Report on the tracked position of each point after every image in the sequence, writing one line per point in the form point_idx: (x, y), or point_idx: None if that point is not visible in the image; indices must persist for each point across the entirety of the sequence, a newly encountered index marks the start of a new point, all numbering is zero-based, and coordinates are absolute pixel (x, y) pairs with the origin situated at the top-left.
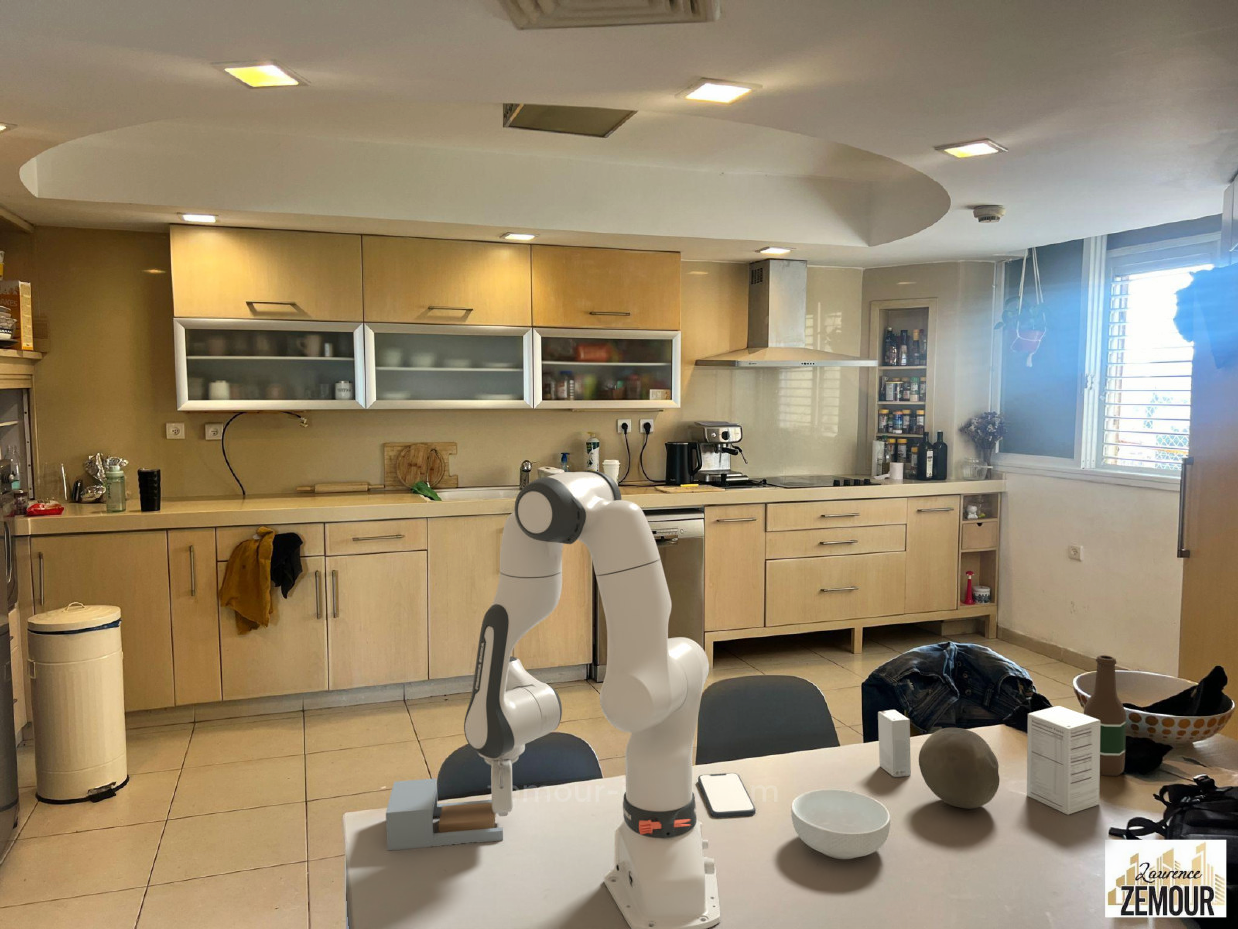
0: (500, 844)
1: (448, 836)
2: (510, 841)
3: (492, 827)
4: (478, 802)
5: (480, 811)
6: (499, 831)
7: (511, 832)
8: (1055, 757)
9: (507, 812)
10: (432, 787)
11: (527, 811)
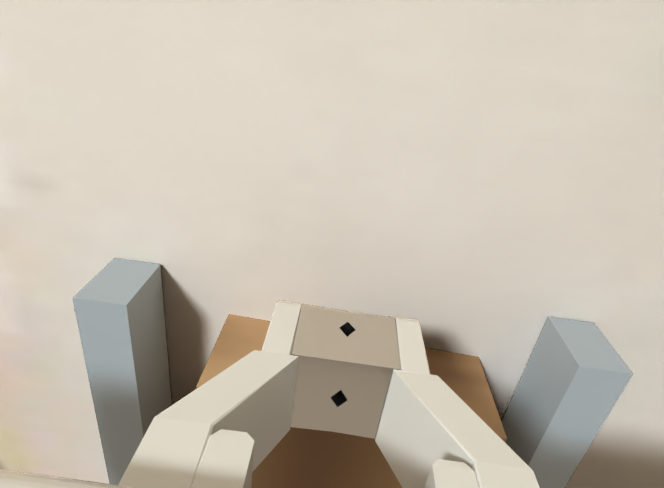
0: (634, 341)
1: None
2: (637, 281)
3: (487, 399)
4: (125, 441)
5: (321, 484)
6: (620, 390)
7: (510, 255)
8: None
9: (421, 335)
10: None
11: (198, 74)
